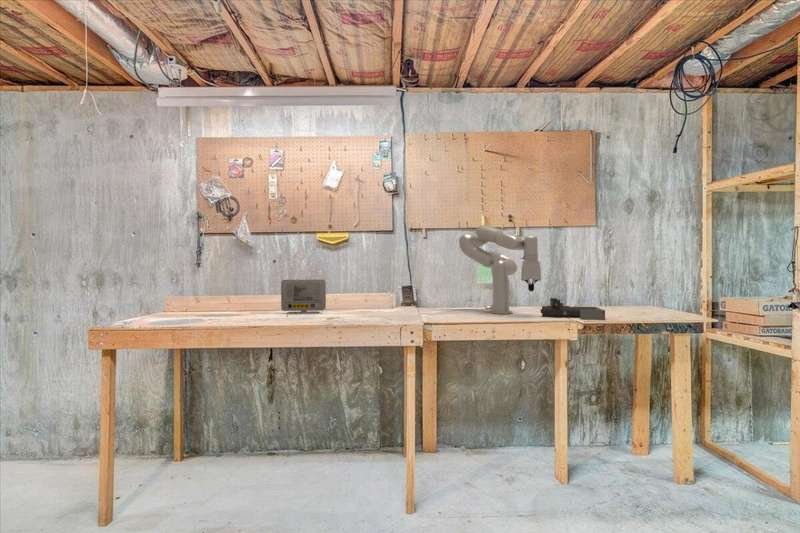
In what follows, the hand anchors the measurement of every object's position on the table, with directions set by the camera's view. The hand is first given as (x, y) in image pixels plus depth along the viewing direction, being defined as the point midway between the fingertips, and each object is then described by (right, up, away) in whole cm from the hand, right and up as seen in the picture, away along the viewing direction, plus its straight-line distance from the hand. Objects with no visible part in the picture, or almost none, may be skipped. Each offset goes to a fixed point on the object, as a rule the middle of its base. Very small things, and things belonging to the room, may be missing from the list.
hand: (531, 291), depth 231 cm
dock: (+30, -14, -5) cm, 33 cm away
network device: (-131, -14, +15) cm, 132 cm away
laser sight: (+16, -14, -3) cm, 22 cm away
